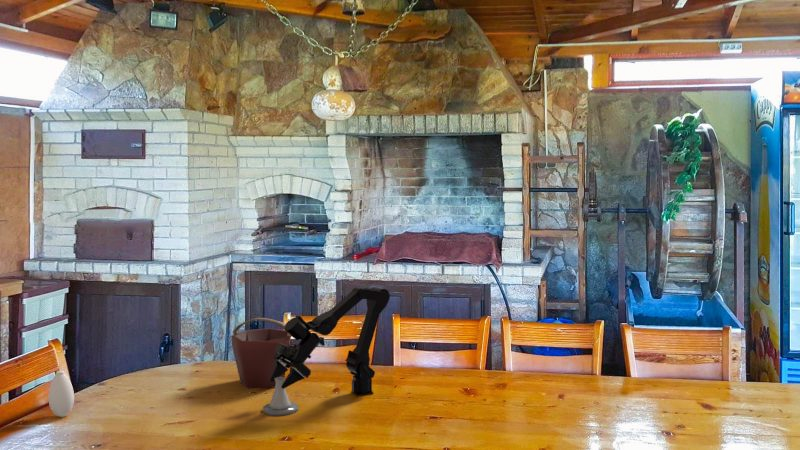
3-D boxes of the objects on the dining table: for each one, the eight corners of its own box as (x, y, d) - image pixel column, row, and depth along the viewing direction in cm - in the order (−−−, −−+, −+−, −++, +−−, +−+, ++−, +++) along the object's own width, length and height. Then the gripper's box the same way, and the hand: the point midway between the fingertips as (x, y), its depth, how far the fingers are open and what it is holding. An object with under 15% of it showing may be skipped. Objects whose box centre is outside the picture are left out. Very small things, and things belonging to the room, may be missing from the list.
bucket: (306, 380, 292) (304, 316, 290) (267, 395, 273) (265, 327, 271) (259, 371, 305) (257, 310, 303) (218, 385, 286) (216, 320, 284)
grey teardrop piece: (50, 421, 248) (47, 367, 246) (48, 414, 254) (46, 362, 253) (75, 417, 251) (73, 364, 250) (74, 410, 258) (71, 359, 256)
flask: (279, 411, 252) (279, 382, 251) (265, 407, 257) (264, 378, 256) (295, 406, 258) (294, 377, 257) (280, 402, 262) (280, 374, 261)
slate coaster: (293, 402, 265) (293, 399, 265) (302, 412, 254) (302, 410, 254) (259, 406, 261) (259, 404, 260) (266, 417, 249) (266, 414, 249)
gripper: (277, 329, 265) (249, 364, 260) (301, 339, 250) (271, 377, 244) (298, 347, 270) (270, 383, 265) (323, 358, 255) (294, 396, 249)
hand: (276, 384), depth 256 cm, fingers open, 9 cm apart
